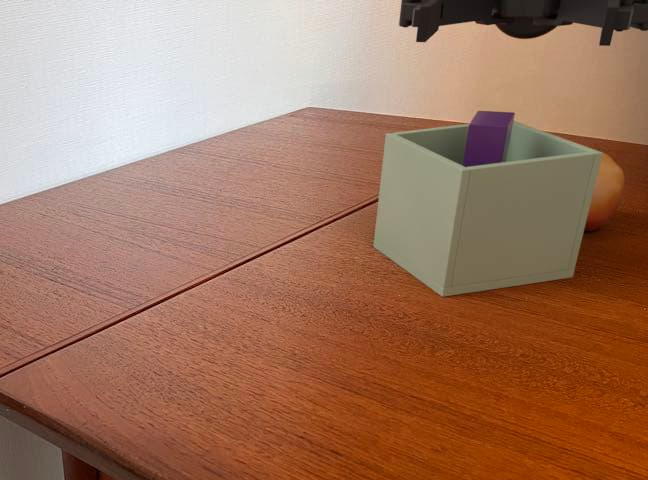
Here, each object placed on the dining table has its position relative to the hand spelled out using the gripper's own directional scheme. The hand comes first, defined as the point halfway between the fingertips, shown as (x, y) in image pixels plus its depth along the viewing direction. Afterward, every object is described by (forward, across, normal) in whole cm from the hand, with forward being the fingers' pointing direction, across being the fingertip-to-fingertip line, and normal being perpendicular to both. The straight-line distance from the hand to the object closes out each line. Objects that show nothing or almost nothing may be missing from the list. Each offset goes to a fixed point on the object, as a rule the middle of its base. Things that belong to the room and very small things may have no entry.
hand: (511, 25), depth 68 cm
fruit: (-13, -7, -20) cm, 25 cm away
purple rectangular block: (0, 0, -19) cm, 19 cm away
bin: (0, 0, -20) cm, 20 cm away
